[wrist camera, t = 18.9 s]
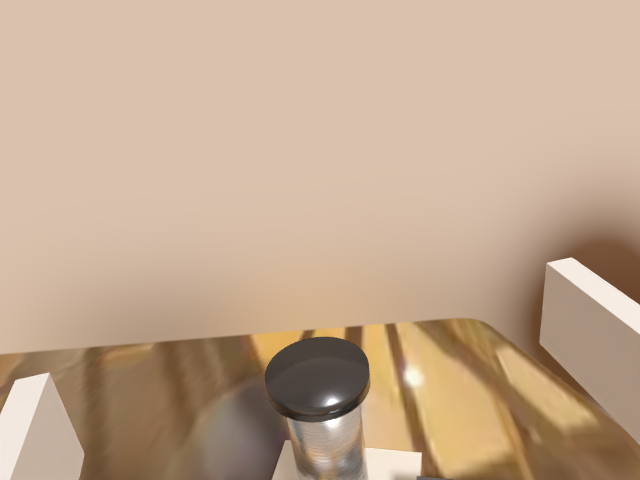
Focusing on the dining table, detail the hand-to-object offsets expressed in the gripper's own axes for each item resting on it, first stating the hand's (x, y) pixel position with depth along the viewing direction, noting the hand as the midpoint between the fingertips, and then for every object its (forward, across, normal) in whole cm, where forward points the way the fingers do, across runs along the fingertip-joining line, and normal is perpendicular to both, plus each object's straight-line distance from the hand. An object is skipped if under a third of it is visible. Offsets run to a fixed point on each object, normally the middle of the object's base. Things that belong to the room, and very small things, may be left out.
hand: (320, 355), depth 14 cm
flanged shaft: (+21, +2, -34) cm, 40 cm away
